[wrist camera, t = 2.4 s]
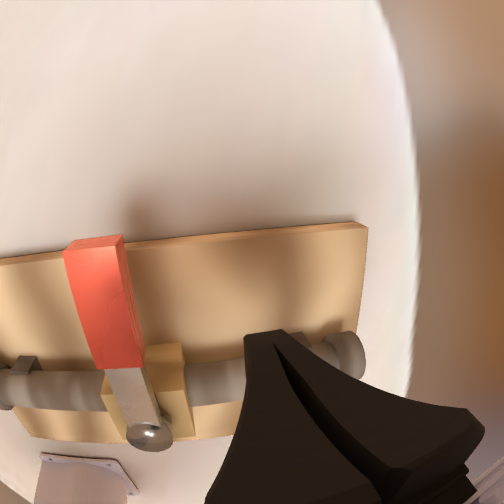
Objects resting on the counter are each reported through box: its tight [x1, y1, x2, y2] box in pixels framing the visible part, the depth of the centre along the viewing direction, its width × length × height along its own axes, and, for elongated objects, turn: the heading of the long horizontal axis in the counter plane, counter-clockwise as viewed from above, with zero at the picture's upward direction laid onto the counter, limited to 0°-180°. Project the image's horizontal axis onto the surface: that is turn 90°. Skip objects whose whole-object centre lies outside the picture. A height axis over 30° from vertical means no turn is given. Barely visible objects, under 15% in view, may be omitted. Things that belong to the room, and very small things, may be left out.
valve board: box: [0, 222, 368, 443], centre depth 16 cm, size 28×16×6 cm, turn 92°
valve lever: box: [62, 234, 173, 452], centre depth 12 cm, size 11×2×1 cm, turn 2°
